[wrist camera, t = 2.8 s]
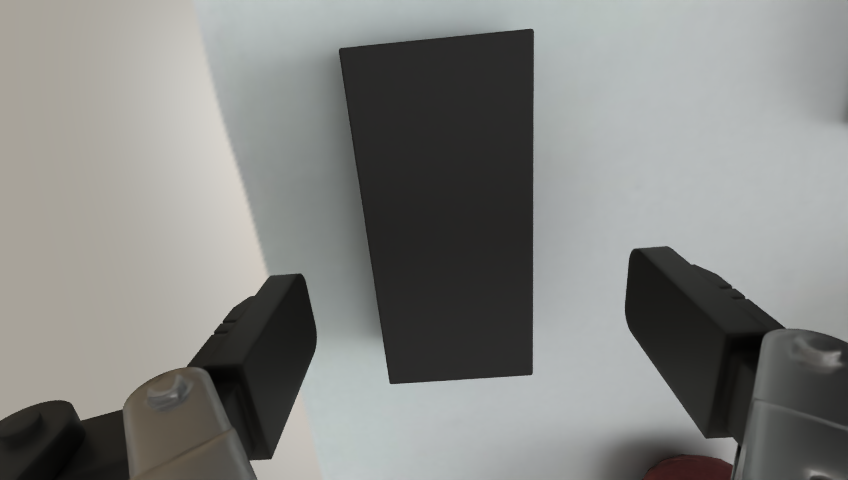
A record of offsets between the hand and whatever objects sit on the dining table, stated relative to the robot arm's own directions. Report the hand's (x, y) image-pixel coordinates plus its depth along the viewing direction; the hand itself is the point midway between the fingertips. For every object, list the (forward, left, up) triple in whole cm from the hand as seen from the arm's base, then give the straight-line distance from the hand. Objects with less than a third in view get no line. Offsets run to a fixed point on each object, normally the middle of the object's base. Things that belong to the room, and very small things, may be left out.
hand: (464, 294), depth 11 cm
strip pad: (0, 0, -7) cm, 7 cm away
